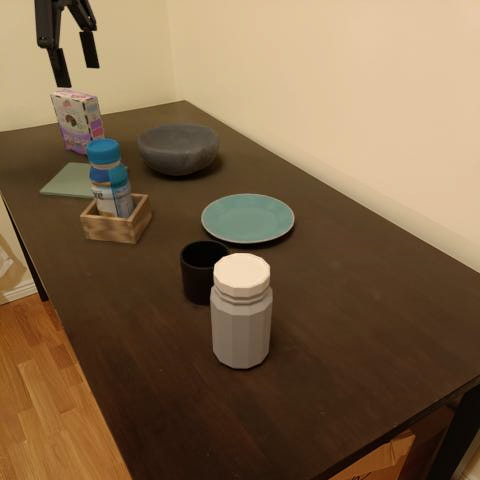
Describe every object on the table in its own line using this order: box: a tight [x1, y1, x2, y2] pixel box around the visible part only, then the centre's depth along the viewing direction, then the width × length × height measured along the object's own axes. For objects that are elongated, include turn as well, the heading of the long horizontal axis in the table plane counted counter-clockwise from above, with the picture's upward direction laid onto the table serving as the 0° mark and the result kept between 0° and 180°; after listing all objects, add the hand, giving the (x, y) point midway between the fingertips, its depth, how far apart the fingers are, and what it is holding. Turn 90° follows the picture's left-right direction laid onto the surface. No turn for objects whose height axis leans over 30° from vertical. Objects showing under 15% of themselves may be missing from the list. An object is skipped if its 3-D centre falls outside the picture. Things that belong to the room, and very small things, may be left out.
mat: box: [39, 161, 129, 200], centre depth 119 cm, size 18×18×1 cm
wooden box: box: [79, 192, 153, 245], centre depth 101 cm, size 12×12×6 cm
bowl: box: [135, 122, 220, 177], centre depth 122 cm, size 23×22×10 cm
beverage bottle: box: [86, 138, 134, 219], centre depth 96 cm, size 8×8×20 cm
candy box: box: [49, 88, 107, 157], centre depth 128 cm, size 14×6×16 cm, turn 58°
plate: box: [200, 193, 295, 245], centre depth 102 cm, size 22×22×3 cm
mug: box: [179, 239, 231, 306], centre depth 84 cm, size 9×12×9 cm
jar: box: [210, 252, 274, 370], centre depth 68 cm, size 10×10×18 cm
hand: (79, 77), depth 87 cm, fingers open, 13 cm apart
